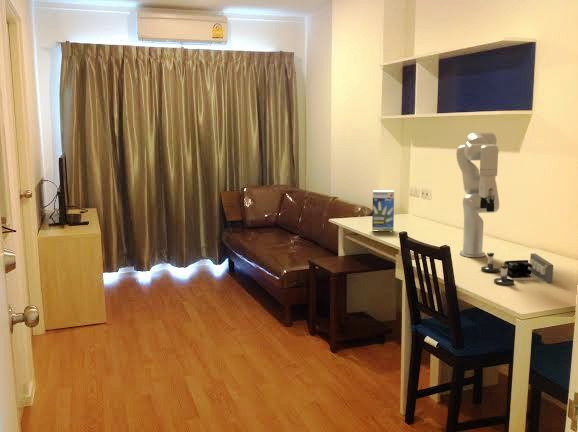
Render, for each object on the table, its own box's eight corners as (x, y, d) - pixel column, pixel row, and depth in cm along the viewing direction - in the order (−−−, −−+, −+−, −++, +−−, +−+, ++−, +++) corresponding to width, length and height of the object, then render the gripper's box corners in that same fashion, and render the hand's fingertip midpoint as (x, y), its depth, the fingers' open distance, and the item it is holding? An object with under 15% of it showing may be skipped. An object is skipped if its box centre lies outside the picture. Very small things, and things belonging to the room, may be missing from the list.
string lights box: (372, 231, 346) (372, 191, 342) (373, 229, 353) (373, 189, 349) (393, 232, 343) (393, 191, 338) (393, 230, 350) (394, 190, 346)
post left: (482, 271, 251) (482, 254, 250) (480, 268, 259) (480, 251, 258) (501, 272, 249) (501, 254, 249) (497, 268, 257) (498, 252, 256)
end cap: (524, 273, 248) (524, 258, 247) (532, 277, 241) (533, 262, 240) (502, 273, 247) (503, 259, 246) (510, 278, 240) (510, 263, 239)
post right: (491, 280, 239) (492, 262, 238) (510, 280, 239) (510, 262, 238) (497, 286, 232) (498, 267, 230) (516, 285, 231) (517, 267, 230)
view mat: (500, 273, 249) (500, 272, 249) (527, 273, 249) (527, 272, 248) (507, 279, 239) (507, 279, 239) (535, 279, 239) (535, 278, 239)
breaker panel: (527, 270, 253) (528, 253, 252) (534, 270, 253) (535, 253, 252) (544, 283, 234) (545, 264, 232) (552, 283, 234) (553, 264, 232)
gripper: (474, 170, 257) (473, 206, 260) (485, 174, 240) (484, 213, 243) (491, 170, 257) (489, 206, 260) (503, 174, 240) (501, 212, 243)
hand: (486, 209), depth 252 cm, fingers open, 9 cm apart
